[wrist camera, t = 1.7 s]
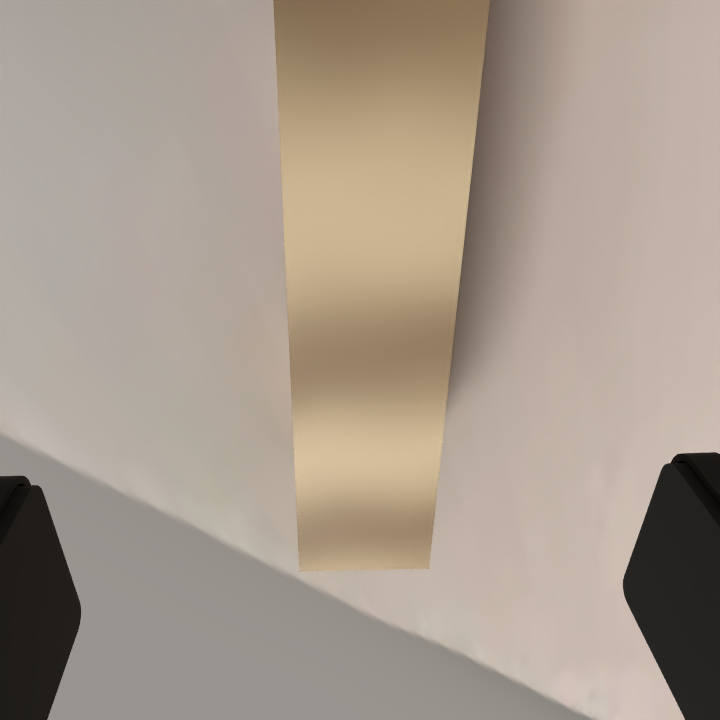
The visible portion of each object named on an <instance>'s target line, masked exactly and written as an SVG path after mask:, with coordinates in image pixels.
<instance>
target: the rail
mask: <svg viewBox="0 0 720 720" xmlns="http://www.w3.org/2000/svg"><path fill="white" fill-rule="evenodd" d="M489 6H490V0H274V21H275V43H276V65H277V87H278V109H279V131H280V154H281V176H282V198H283V220H284V242H285V264H286V286H287V308H288V330H289V352H290V374H291V396H292V418H293V440H294V462H295V484H296V506H297V528H298V551H299V572H301V571H344V570H388V569H429V562H430V553H431V544H432V534H433V525H434V516H435V506H436V497H437V488H438V479H439V469H440V460H441V451H442V442H443V432H444V423H445V414H446V404H447V395H448V386H449V377H450V367H451V358H452V349H453V340H454V330H455V321H456V312H457V302H458V293H459V284H460V275H461V265H462V256H463V247H464V238H465V228H466V219H467V210H468V200H469V191H470V182H471V173H472V163H473V154H474V145H475V136H476V126H477V117H478V108H479V98H480V89H481V80H482V71H483V61H484V52H485V43H486V34H487V24H488V15H489Z"/></svg>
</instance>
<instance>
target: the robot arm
mask: <svg viewBox="0 0 720 720" xmlns="http://www.w3.org/2000/svg"><path fill="white" fill-rule="evenodd" d="M623 590H624V595H625V599H626V601H627V604H628V606H629V608H630V610H631V612H632V614H633V616H634V618H635V620H636V622H637V624H638V626H639V628H640V630H641V632H642V634H643V636H644V638H645V640H646V642H647V644H648V646H649V648H650V650H651V652H652V654H653V656H654V658H655V660H656V662H657V664H658V666H659V668H660V670H661V672H662V674H663V676H664V678H665V680H666V682H667V684H668V686H669V688H670V690H671V692H672V694H673V696H674V698H675V700H676V702H677V704H678V706H679V708H680V710H681V712H682V714H683V716H684V718H685V720H720V454H718V453H716V452H714V453H684V454H677V455H676V456H675V457H674V458H673V460H672V462H671V463H669V464H666V465H664V466H663V468H662V470H661V473H660V475H659V478H658V481H657V484H656V487H655V490H654V493H653V495H652V498H651V501H650V504H649V507H648V510H647V513H646V515H645V518H644V521H643V524H642V527H641V530H640V533H639V535H638V538H637V541H636V544H635V547H634V550H633V553H632V555H631V558H630V561H629V564H628V567H627V570H626V573H625V575H624V579H623ZM80 619H81V605H80V601H79V598H78V595H77V592H76V589H75V586H74V583H73V581H72V577H71V574H70V571H69V568H68V565H67V562H66V559H65V557H64V553H63V550H62V548H61V544H60V542H59V538H58V536H57V532H56V530H55V526H54V524H53V520H52V517H51V515H50V512H49V509H48V506H47V503H46V500H45V497H44V494H43V491H42V489H41V488H40V487H39V486H37V485H32V486H31V484H30V482H29V480H28V479H27V478H26V477H25V476H0V720H47V719H48V716H49V713H50V709H51V707H52V704H53V701H54V698H55V695H56V693H57V690H58V687H59V684H60V681H61V678H62V675H63V672H64V670H65V667H66V664H67V661H68V658H69V655H70V652H71V649H72V646H73V644H74V641H75V638H76V635H77V632H78V629H79V625H80Z"/></svg>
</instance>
